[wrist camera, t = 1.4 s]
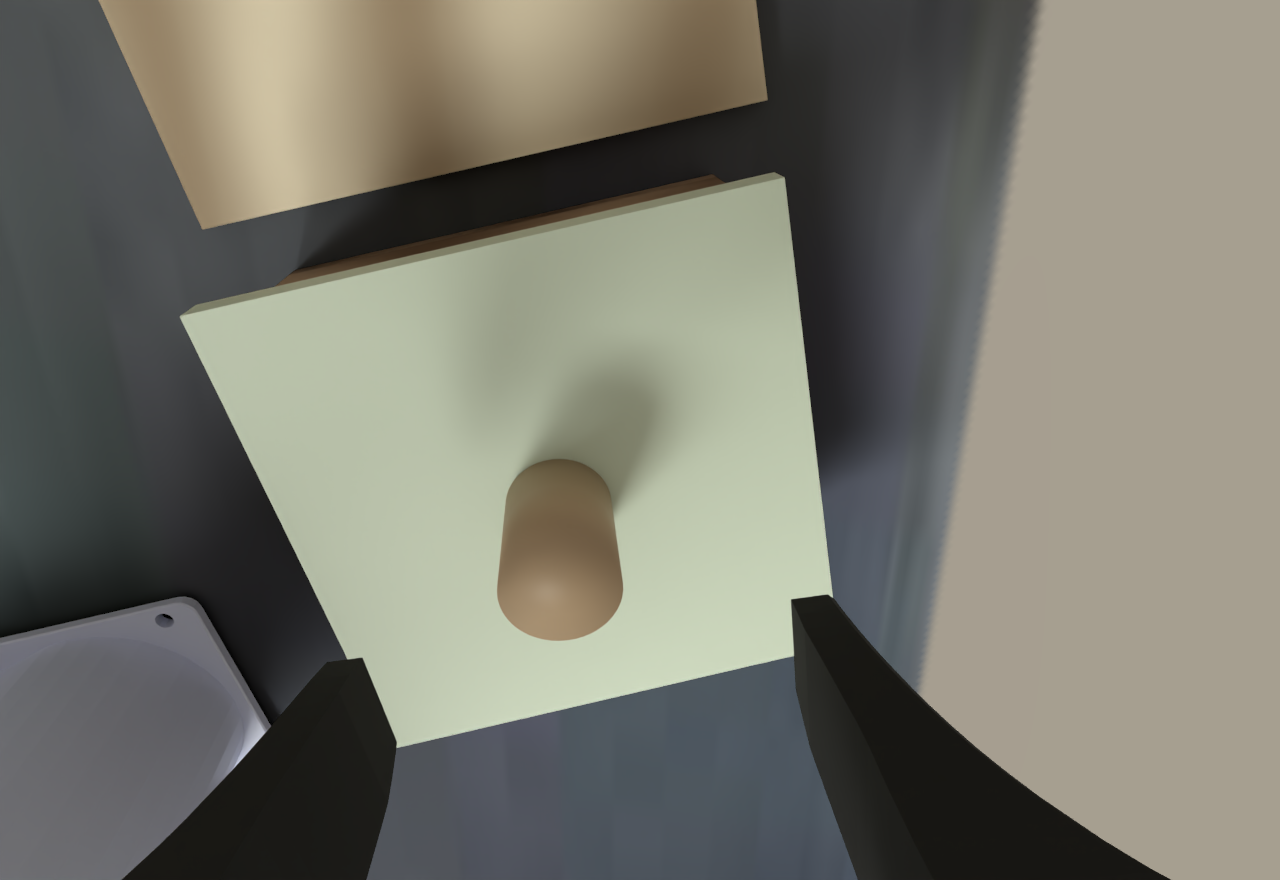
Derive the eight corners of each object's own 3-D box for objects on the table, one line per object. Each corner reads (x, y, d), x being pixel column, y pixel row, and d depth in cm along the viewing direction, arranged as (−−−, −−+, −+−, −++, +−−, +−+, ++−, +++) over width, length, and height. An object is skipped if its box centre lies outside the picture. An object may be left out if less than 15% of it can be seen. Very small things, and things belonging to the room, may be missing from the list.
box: (431, 604, 25) (408, 708, 21) (295, 270, 20) (231, 322, 16) (766, 526, 25) (808, 615, 21) (712, 174, 20) (753, 202, 16)
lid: (400, 709, 22) (365, 860, 18) (208, 296, 16) (92, 376, 12) (821, 611, 22) (885, 740, 18) (766, 168, 16) (839, 204, 12)
